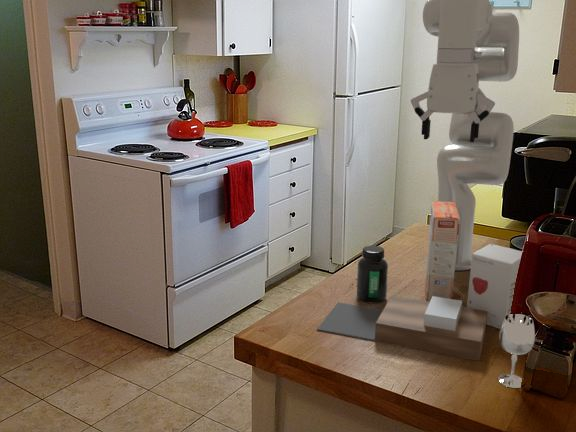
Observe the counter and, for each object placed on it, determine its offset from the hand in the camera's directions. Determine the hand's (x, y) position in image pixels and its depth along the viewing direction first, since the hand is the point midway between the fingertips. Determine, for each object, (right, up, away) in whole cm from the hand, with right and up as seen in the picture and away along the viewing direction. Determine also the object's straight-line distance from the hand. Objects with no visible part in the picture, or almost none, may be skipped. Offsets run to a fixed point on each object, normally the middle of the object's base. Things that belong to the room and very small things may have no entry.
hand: (449, 139), depth 131 cm
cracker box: (+1, -35, +12) cm, 37 cm away
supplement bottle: (-15, -35, +10) cm, 40 cm away
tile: (-4, -37, -9) cm, 38 cm away
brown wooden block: (-5, -40, -7) cm, 41 cm away
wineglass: (+5, -46, -23) cm, 52 cm away
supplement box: (+10, -38, +1) cm, 40 cm away
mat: (-20, -39, -1) cm, 44 cm away
